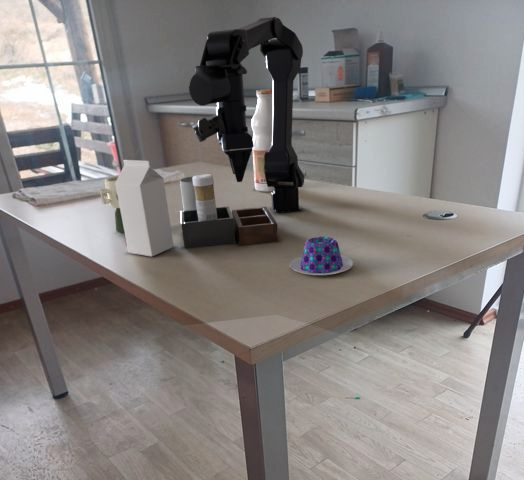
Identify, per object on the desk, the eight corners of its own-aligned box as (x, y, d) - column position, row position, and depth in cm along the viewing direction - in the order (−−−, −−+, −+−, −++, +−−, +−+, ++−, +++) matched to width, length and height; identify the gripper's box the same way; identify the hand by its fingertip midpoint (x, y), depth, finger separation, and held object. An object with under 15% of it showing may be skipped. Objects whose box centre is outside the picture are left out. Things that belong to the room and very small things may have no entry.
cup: (211, 222, 133) (206, 182, 128) (180, 222, 134) (175, 182, 130) (220, 213, 140) (216, 175, 135) (191, 214, 142) (186, 176, 137)
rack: (267, 222, 129) (266, 206, 127) (278, 241, 115) (277, 223, 113) (233, 226, 128) (231, 210, 126) (240, 245, 114) (238, 227, 112)
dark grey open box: (230, 229, 126) (228, 206, 124) (235, 242, 116) (233, 218, 114) (183, 233, 125) (180, 210, 122) (184, 248, 115) (181, 223, 112)
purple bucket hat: (329, 283, 92) (329, 255, 89) (277, 271, 99) (275, 244, 96) (365, 263, 99) (366, 236, 97) (314, 253, 107) (313, 228, 104)
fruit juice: (249, 188, 166) (242, 90, 152) (275, 184, 169) (270, 88, 156) (264, 193, 158) (258, 91, 145) (290, 188, 162) (287, 88, 148)
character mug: (116, 240, 124) (104, 184, 118) (103, 234, 129) (91, 180, 122) (156, 229, 130) (147, 176, 123) (142, 225, 135) (133, 172, 128)
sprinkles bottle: (218, 231, 123) (211, 172, 116) (220, 236, 119) (214, 176, 113) (198, 234, 122) (191, 174, 116) (201, 239, 118) (193, 178, 112)
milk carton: (152, 257, 111) (136, 164, 102) (128, 253, 114) (110, 162, 105) (174, 247, 116) (160, 157, 107) (150, 244, 119) (135, 156, 110)
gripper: (191, 100, 116) (200, 173, 123) (193, 107, 99) (203, 190, 107) (240, 96, 117) (246, 169, 124) (250, 102, 100) (256, 185, 108)
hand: (237, 177), depth 116 cm, fingers open, 9 cm apart
